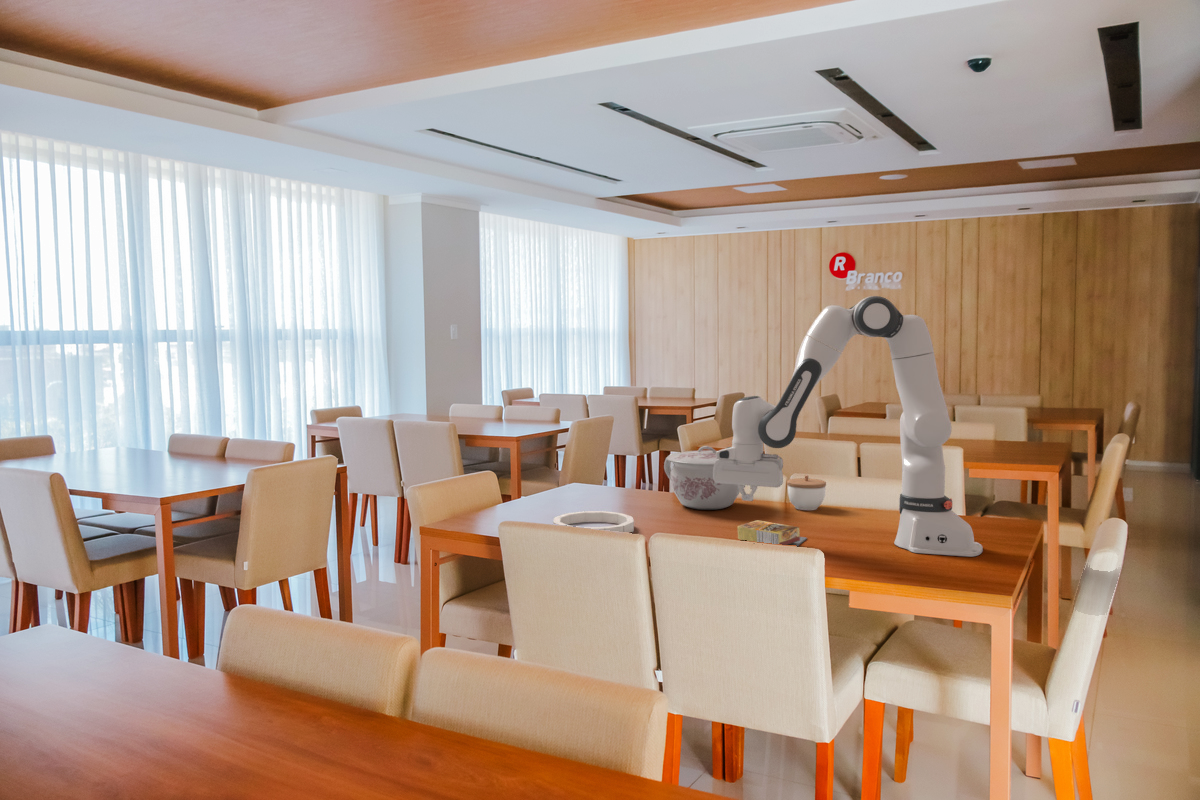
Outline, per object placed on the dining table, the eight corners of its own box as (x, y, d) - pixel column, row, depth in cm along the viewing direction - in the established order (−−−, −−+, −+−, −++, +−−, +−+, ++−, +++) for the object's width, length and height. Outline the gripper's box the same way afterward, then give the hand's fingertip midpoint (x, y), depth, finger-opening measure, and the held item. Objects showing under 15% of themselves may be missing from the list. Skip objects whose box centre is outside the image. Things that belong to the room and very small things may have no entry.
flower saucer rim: (646, 525, 265) (646, 515, 264) (609, 542, 244) (609, 532, 243) (579, 517, 276) (579, 508, 276) (538, 533, 255) (538, 523, 255)
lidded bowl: (804, 513, 280) (805, 480, 280) (779, 506, 291) (779, 474, 291) (833, 509, 286) (834, 476, 286) (807, 503, 297) (807, 471, 297)
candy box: (757, 519, 250) (799, 525, 238) (758, 533, 251) (800, 540, 239) (736, 525, 245) (778, 532, 233) (737, 540, 245) (779, 548, 233)
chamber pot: (758, 513, 282) (758, 450, 280) (676, 516, 278) (676, 452, 276) (733, 496, 309) (733, 439, 307) (658, 499, 305) (658, 441, 304)
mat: (807, 538, 247) (807, 537, 246) (795, 548, 236) (795, 546, 236) (759, 533, 253) (759, 532, 253) (746, 542, 243) (746, 541, 243)
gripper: (786, 453, 245) (786, 501, 246) (718, 449, 255) (718, 495, 256) (779, 456, 239) (779, 505, 240) (710, 452, 249) (710, 499, 250)
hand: (747, 500), depth 248 cm, fingers closed
